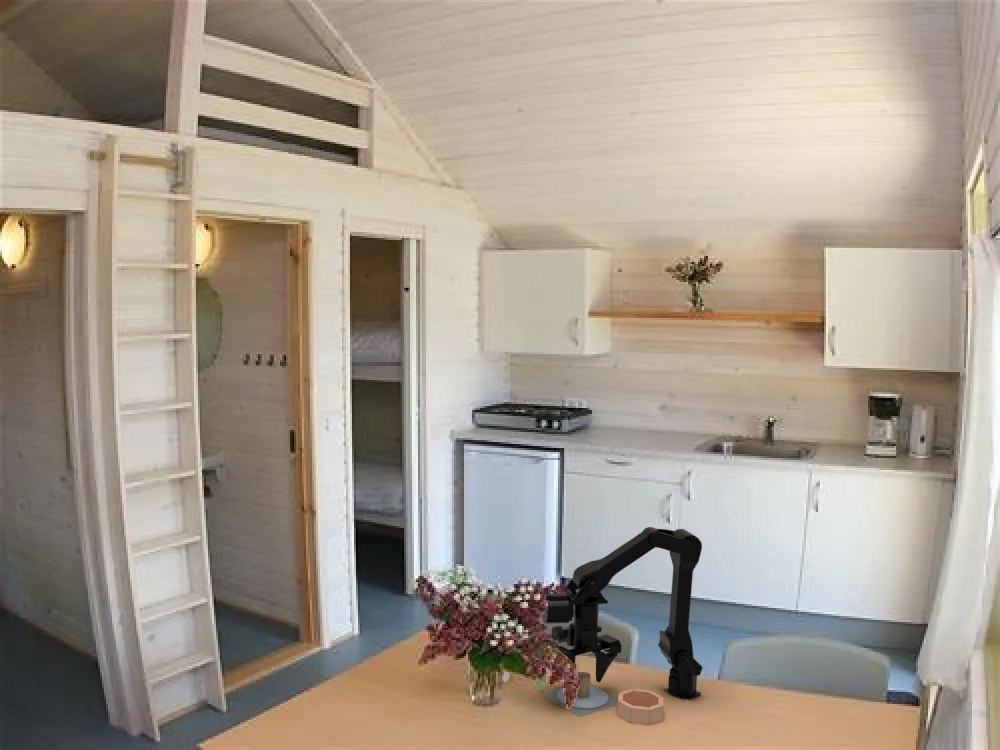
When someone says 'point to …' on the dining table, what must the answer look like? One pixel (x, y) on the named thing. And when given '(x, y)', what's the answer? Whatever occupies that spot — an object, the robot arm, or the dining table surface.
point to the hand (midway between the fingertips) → (583, 686)
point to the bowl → (640, 706)
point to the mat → (581, 712)
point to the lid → (586, 694)
